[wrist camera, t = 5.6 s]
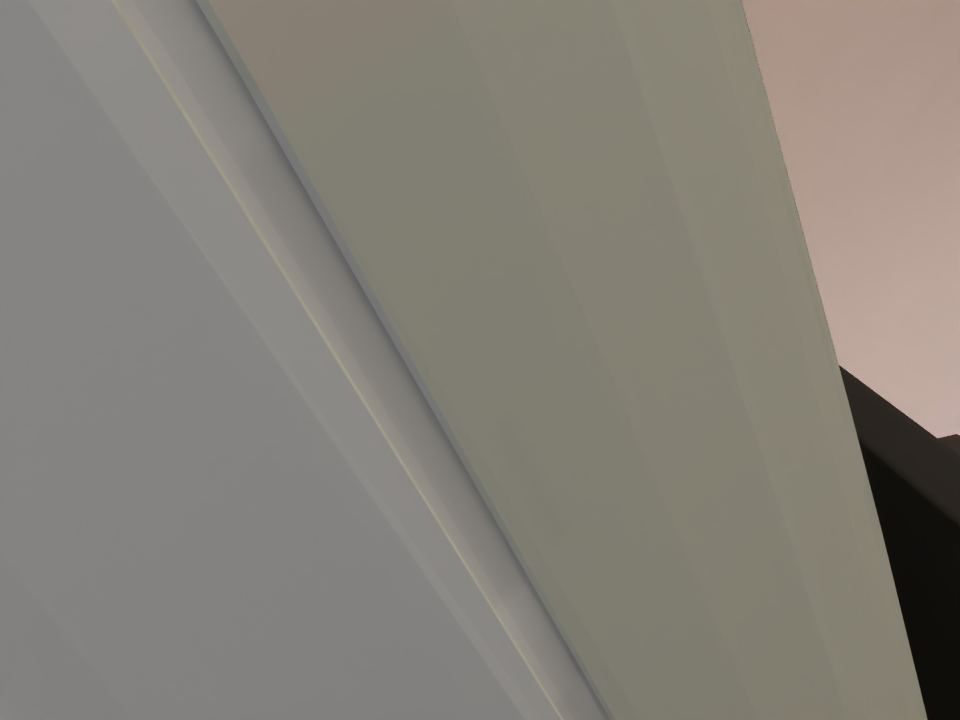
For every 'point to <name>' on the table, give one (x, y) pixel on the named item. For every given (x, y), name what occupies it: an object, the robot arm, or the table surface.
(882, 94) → the table surface
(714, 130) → the digital clock
